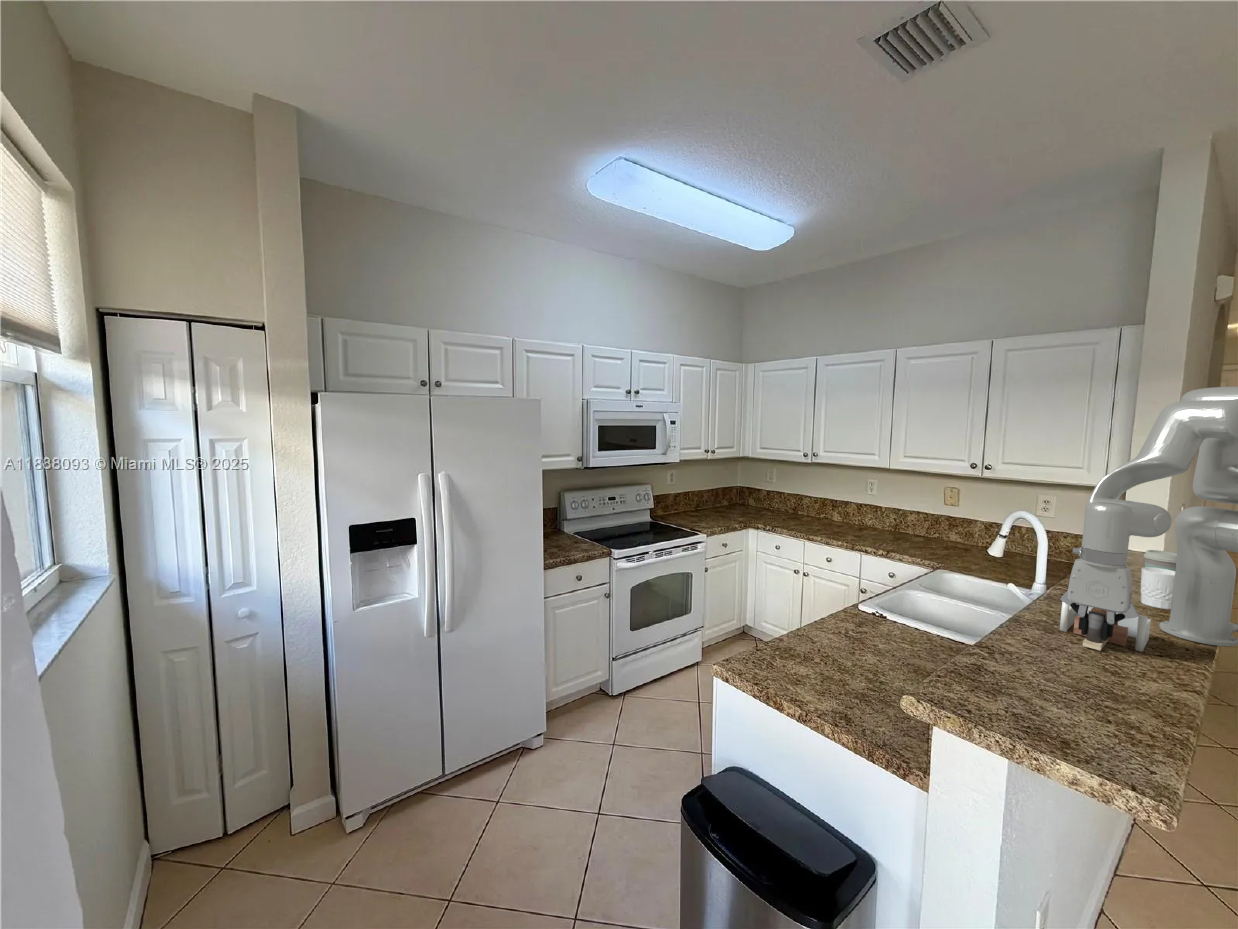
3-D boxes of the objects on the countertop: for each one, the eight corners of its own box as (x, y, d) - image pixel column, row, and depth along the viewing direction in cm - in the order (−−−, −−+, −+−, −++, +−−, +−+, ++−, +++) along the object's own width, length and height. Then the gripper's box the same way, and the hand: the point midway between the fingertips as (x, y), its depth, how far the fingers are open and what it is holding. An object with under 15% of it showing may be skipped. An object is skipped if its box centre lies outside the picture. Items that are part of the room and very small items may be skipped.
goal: (1143, 652, 114) (1147, 617, 113) (1058, 630, 125) (1062, 598, 125) (1149, 640, 121) (1153, 607, 120) (1069, 620, 132) (1072, 590, 131)
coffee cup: (1173, 589, 160) (1178, 552, 158) (1184, 597, 152) (1189, 558, 151) (1135, 584, 164) (1139, 548, 163) (1144, 591, 157) (1149, 553, 156)
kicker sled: (1119, 655, 111) (1122, 622, 110) (1065, 641, 118) (1068, 609, 117) (1126, 644, 117) (1130, 612, 116) (1074, 631, 124) (1078, 601, 123)
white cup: (1168, 603, 147) (1172, 569, 146) (1184, 612, 140) (1188, 577, 139) (1132, 598, 150) (1136, 565, 149) (1146, 607, 143) (1150, 572, 142)
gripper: (1052, 551, 118) (1044, 628, 120) (1153, 568, 105) (1143, 654, 107) (1060, 547, 123) (1052, 621, 124) (1157, 563, 110) (1148, 645, 112)
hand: (1094, 635), depth 116 cm, fingers closed on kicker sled, 2 cm apart
